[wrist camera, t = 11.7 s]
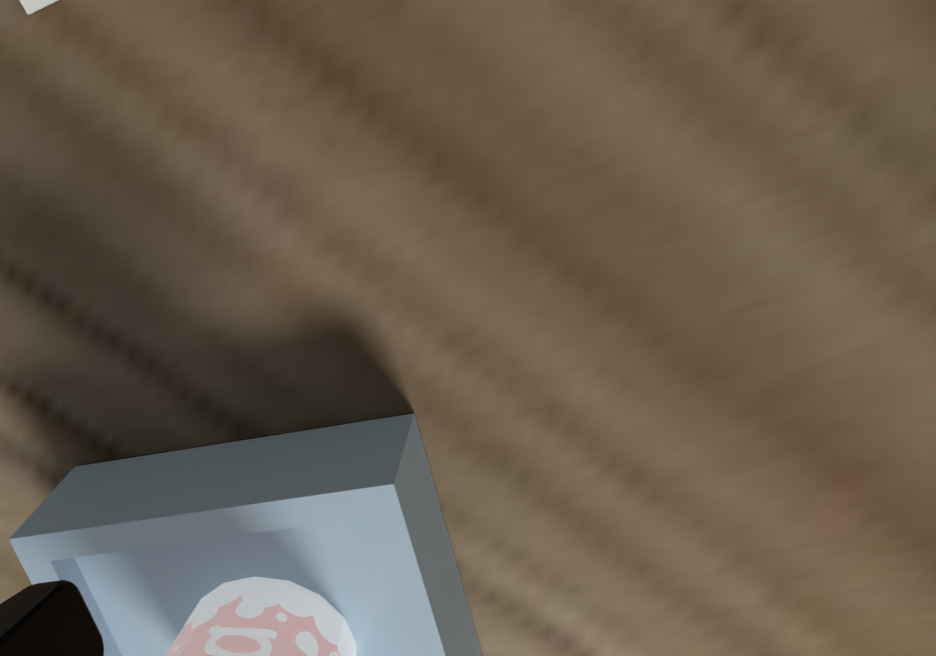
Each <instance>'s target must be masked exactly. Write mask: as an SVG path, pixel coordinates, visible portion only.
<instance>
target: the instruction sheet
mask: <svg viewBox="0 0 936 656" xmlns="http://www.w3.org/2000/svg"><path fill="white" fill-rule="evenodd" d="M56 1H58V0H20V2H21V4H22V5H23V7H24V9H25V11H26V12H27V14H28V15H29V14H32V13H34V12H36V11H38V10H40V9H42V8H44V7H46V6H48V5H50V4H52V3H54V2H56Z"/></svg>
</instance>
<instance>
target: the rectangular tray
mask: <svg viewBox="0 0 936 656" xmlns="http://www.w3.org/2000/svg"><path fill="white" fill-rule="evenodd" d="M9 541H10V543H11V545H12V546H13V548H14V550H15V552H16V554H17V556H18V558H19V560H20V562H21V564H22V566H23V568H24V570H25V572H26V574H27V576H28V578H29V579H30V581H31V583H32V585H33V584H37V583H44V582H52V581H59V580H67V581H70V582H72V583H73V584H74V585H76V586H77V588H78V589H79V591H80V593H81V595H82V597H83V599H84V601H85V603H86V605H87V607H88V609H89V611H90V613H91V615H92V617H93V619H94V621H95V623H96V625H97V627H98V629H99V631H100V633H101V636H102V638H103V643H104V656H165V655H166V653H167V652H168V650H169V648H170V647H171V645H172V644H173V642H174V641H175V639H176V637H177V636H178V634H179V633H180V631H181V630H182V628H183V626H184V625H185V623H186V622H187V620H188V618H189V617H190V615H191V614H192V612H193V611H194V609H195V607H196V606H197V604H198V603H199V601H200V600H201V599H202V598H203V597H204V596H206V595H207V594H209V593H210V592H212V591H213V590H214V589H216V588H217V587H219V586H220V585H222V584H223V583H226V582H231V581H236V580H240V579H245V578H250V577H263V578H271V579H279V580H287V581H291V582H293V583H295V584H297V585H299V586H301V587H304V588H306V589H308V590H310V591H312V592H315V593H317V594H319V595H321V596H322V597H323V598H324V599H325V600H326V601H327V602H328V603H329V604H330V605H332V606H333V607H334V608H335V609H336V610H337V611H338V612H339V613H340V614H341V615H342V616H343V617H344V618H345V620H346V622H347V625H348V627H349V629H350V631H351V633H352V635H353V638H354V640H355V642H356V656H482V653H481V649H480V646H479V642H478V639H477V635H476V632H475V628H474V625H473V621H472V617H471V614H470V610H469V607H468V603H467V600H466V596H465V592H464V589H463V585H462V582H461V578H460V575H459V571H458V568H457V564H456V560H455V557H454V553H453V550H452V546H451V543H450V539H449V535H448V532H447V528H446V525H445V521H444V518H443V514H442V511H441V507H440V503H439V500H438V496H437V493H436V489H435V486H434V482H433V478H432V475H431V471H430V468H429V464H428V461H427V457H426V454H425V450H424V446H423V443H422V439H421V436H420V432H419V429H418V425H417V421H416V418H415V414H414V413H413V414H407V415H401V416H394V417H388V418H382V419H375V420H369V421H363V422H356V423H350V424H343V425H337V426H331V427H324V428H318V429H312V430H305V431H299V432H292V433H286V434H280V435H273V436H267V437H261V438H254V439H248V440H241V441H235V442H229V443H222V444H216V445H210V446H203V447H197V448H190V449H184V450H178V451H171V452H165V453H159V454H152V455H146V456H139V457H133V458H127V459H120V460H114V461H108V462H101V463H95V464H89V465H82V466H76V467H74V468H73V469H72V470H71V471H70V472H69V473H68V475H67V476H66V477H65V478H64V479H63V480H62V481H61V482H60V483H59V484H58V486H57V487H56V488H55V489H54V490H53V491H52V492H51V493H50V494H49V495H48V497H47V498H46V499H45V500H44V501H43V502H42V503H41V504H40V505H39V506H38V508H37V509H36V510H35V511H34V512H33V513H32V514H31V515H30V516H29V517H28V519H27V520H26V521H25V522H24V523H23V524H22V525H21V526H20V527H19V529H18V530H17V531H16V532H15V533H14V534H13V535H12V536H11V537H10V538H9Z"/></svg>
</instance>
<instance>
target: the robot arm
mask: <svg viewBox="0 0 936 656" xmlns="http://www.w3.org/2000/svg"><path fill="white" fill-rule="evenodd" d="M0 656H104V643H103V638H102V636H101V633H100V631H99V629H98V627H97V625H96V623H95V621H94V619H93V617H92V615H91V613H90V611H89V609H88V607H87V605H86V603H85V601H84V599H83V597H82V595H81V593H80V591H79V589H78V588H77V586H76V585H74V584H73V583H72V582H70V581H67V580H59V581H52V582H44V583H37V584H33V585H30V586H28V587H26V588H25V589H23V590H22V591H20V592H19V593H17V594H15V595H14V596H12V597H11V598H9V599H8V600H6V601H4V602H3V603H1V604H0Z"/></svg>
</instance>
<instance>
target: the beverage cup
mask: <svg viewBox="0 0 936 656" xmlns="http://www.w3.org/2000/svg"><path fill="white" fill-rule="evenodd" d="M165 656H356V642H355V640H354V638H353V635H352V633H351V631H350V629H349V627H348V625H347V622H346V620H345V618H344V617H343V616H342V615H341V614H340V613H339V612H338V611H337V610H336V609H335V608H334V607H333V606H332V605H330V604H329V603H328V602H327V601H326V600H325V599H324V598H323V597H322V596H321V595H319V594H317V593H315V592H312V591H310V590H308V589H306V588H304V587H301V586H299V585H297V584H295V583H293V582H291V581H287V580H279V579H271V578H263V577H250V578H245V579H240V580H236V581H231V582H226V583H223V584H222V585H220V586H219V587H217V588H216V589H214V590H213V591H212V592H210V593H209V594H207V595H206V596H204V597H203V598H202V599H201V600H200V601H199V603H198V604H197V606H196V607H195V609H194V611H193V612H192V614H191V615H190V617H189V618H188V620H187V622H186V623H185V625H184V626H183V628H182V630H181V631H180V633H179V634H178V636H177V637H176V639H175V641H174V642H173V644H172V645H171V647H170V648H169V650H168V652H167V653H166V655H165Z"/></svg>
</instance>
